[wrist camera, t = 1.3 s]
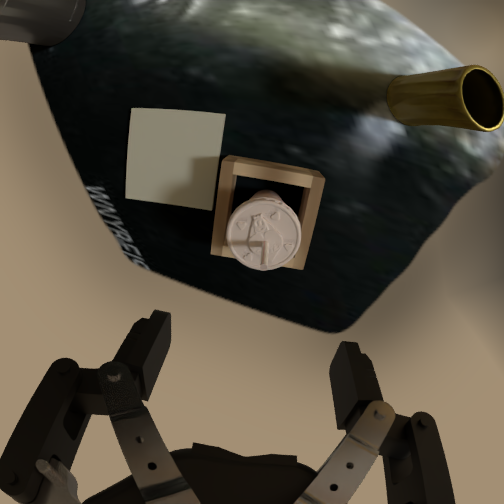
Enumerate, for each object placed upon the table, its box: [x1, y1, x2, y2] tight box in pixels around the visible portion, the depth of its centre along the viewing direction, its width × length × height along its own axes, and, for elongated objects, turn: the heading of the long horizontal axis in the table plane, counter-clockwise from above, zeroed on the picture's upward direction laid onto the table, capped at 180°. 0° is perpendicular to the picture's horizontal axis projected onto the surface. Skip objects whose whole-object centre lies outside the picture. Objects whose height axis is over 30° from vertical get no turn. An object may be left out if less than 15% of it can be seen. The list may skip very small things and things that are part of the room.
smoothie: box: [226, 190, 301, 271], centre depth 27 cm, size 6×6×14 cm
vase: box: [387, 65, 504, 132], centre depth 20 cm, size 6×6×14 cm
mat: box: [126, 108, 226, 211], centre depth 31 cm, size 11×11×1 cm
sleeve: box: [211, 155, 325, 270], centre depth 31 cm, size 10×10×4 cm
